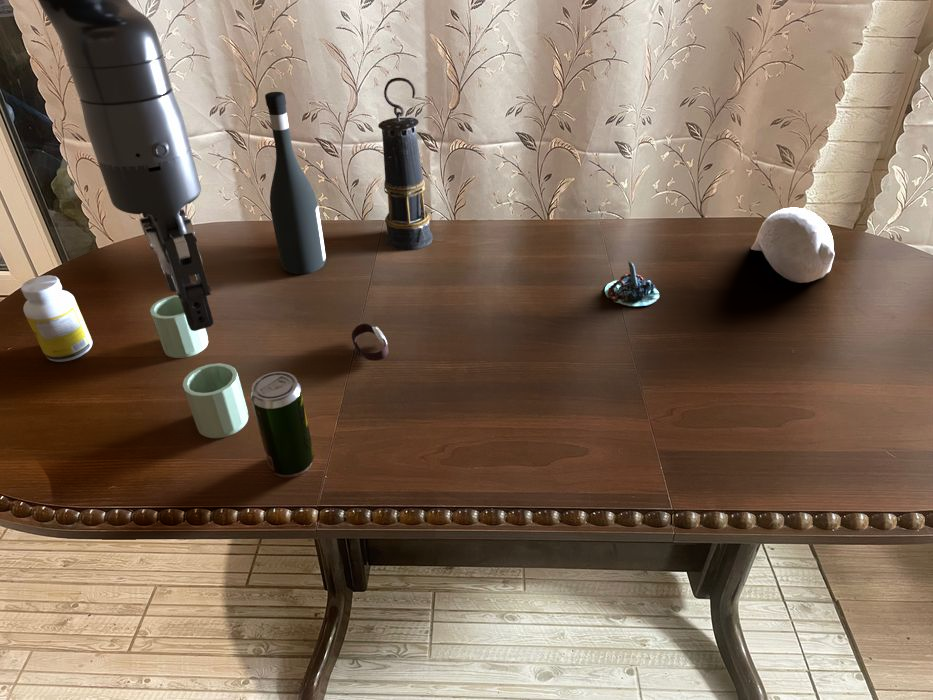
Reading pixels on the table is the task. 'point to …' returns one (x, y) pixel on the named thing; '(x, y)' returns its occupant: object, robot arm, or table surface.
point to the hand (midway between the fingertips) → (191, 307)
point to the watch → (379, 335)
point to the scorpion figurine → (632, 290)
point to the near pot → (216, 400)
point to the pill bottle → (55, 319)
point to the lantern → (404, 181)
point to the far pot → (176, 329)
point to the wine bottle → (293, 200)
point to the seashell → (796, 244)
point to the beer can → (282, 423)
